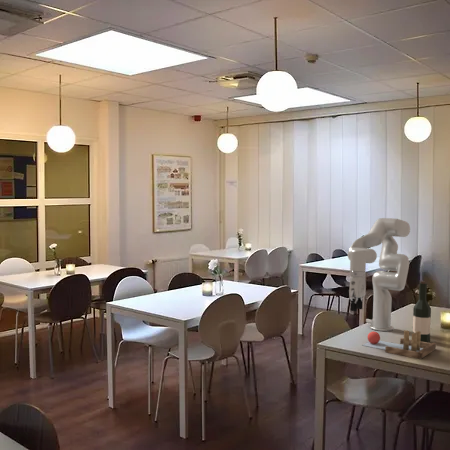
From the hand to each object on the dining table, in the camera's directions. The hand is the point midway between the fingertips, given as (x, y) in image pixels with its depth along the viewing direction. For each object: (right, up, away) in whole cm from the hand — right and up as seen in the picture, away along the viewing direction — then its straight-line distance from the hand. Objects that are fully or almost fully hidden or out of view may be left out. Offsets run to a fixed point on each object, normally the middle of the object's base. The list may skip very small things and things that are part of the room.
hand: (356, 309), depth 271 cm
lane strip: (+16, -16, -12) cm, 26 cm away
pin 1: (+22, -17, -19) cm, 34 cm away
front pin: (+20, -17, -15) cm, 30 cm away
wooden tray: (+21, -17, -16) cm, 32 cm away
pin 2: (+25, -17, -16) cm, 34 cm away
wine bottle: (+33, -16, +3) cm, 37 cm away
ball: (+7, -13, -5) cm, 16 cm away
